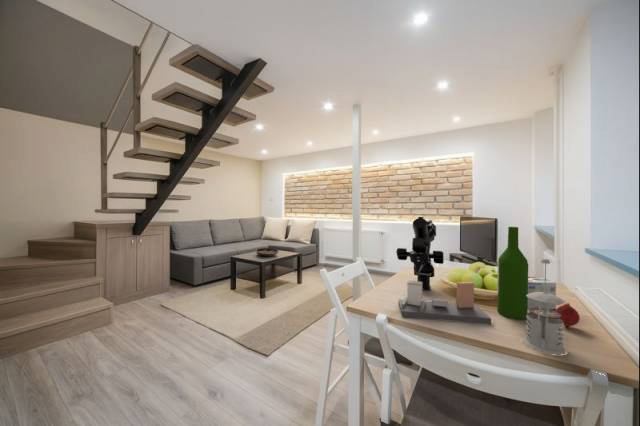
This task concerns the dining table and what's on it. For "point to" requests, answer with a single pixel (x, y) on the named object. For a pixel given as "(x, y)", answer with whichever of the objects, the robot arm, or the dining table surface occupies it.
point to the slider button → (414, 293)
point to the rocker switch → (440, 302)
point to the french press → (544, 323)
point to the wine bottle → (512, 280)
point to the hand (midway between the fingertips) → (417, 272)
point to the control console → (443, 312)
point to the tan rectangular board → (465, 295)
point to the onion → (568, 315)
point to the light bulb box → (539, 286)
